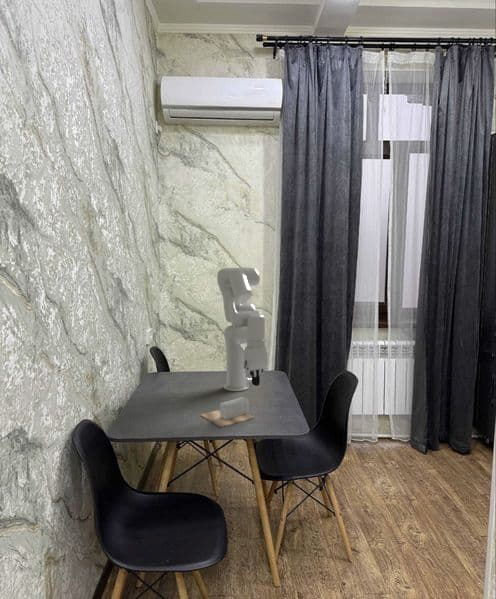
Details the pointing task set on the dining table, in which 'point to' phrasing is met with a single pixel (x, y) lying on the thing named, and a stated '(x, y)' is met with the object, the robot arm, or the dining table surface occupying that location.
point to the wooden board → (222, 422)
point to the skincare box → (234, 408)
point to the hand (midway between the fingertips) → (255, 384)
